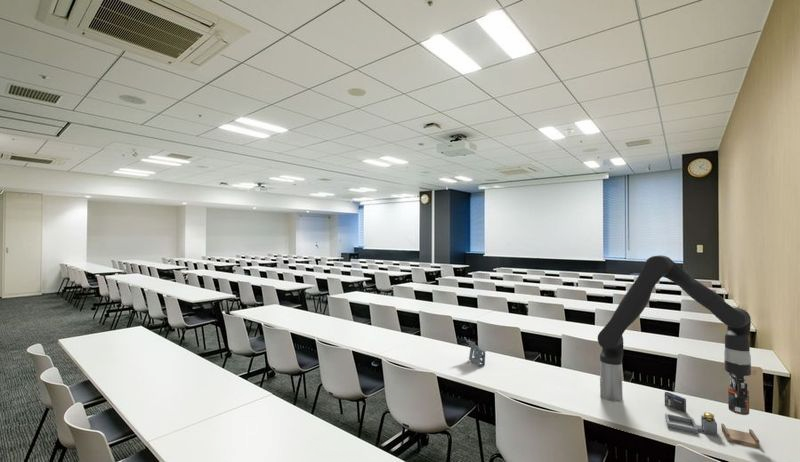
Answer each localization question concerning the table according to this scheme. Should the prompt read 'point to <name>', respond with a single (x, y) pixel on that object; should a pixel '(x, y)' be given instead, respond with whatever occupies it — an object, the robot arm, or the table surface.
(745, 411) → the supplement bottle
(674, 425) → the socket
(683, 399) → the mini dv tape
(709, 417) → the brass knob
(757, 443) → the brown curved tray
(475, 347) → the bracket
